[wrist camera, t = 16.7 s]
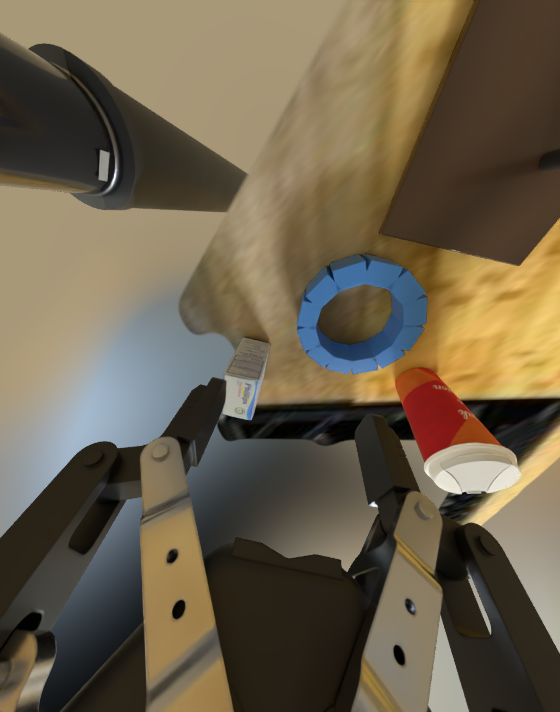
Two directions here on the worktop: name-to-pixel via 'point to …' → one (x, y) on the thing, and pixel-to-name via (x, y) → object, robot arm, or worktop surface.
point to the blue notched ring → (383, 345)
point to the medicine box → (245, 378)
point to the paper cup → (453, 437)
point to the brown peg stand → (489, 139)
